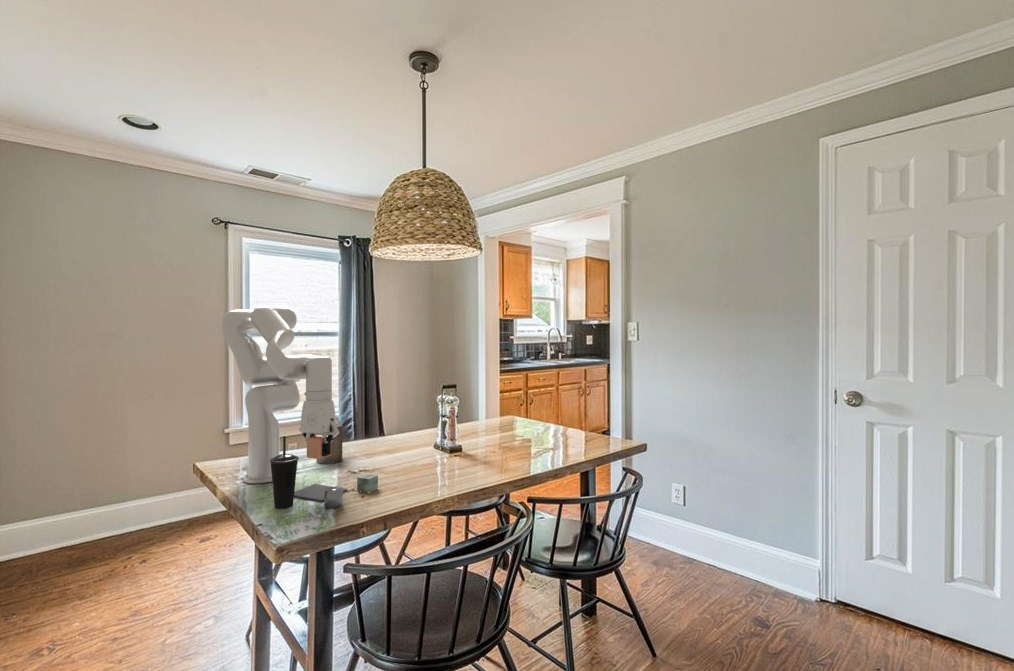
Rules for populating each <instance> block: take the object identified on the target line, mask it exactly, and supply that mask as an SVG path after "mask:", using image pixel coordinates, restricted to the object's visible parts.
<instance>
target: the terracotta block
mask: <svg viewBox="0 0 1014 671" xmlns="http://www.w3.org/2000/svg"><path fill="white" fill-rule="evenodd" d="M327 437H328V436H327ZM323 443H324V442H323V438H322V435H316V436H312V437H308V438H307V442H306V458H308V459H316V460H317V459H321V458H324V457H323V456H322V444H323ZM330 455H331V454H330ZM330 455H328V456H330ZM325 457H327V456H325Z"/></svg>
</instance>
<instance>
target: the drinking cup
mask: <svg viewBox="0 0 1014 671" xmlns="http://www.w3.org/2000/svg"><path fill="white" fill-rule="evenodd" d="M286 439H287V437H286V436H285V435H284V436H282V453H281V454H280V455H277V456H275V457H274V458H271V459H270V463H271V472H272V491H273V492H272V494H273V501H274V502H273V503H274V504H273V505H274V508H275V509H277V510H278V509H279V510H283V509H285V510H286V509H289V508H291V507H293V506H294V498H295V497H294V492H296V491H295V490H296V481H297V479H296V478H297V472H298V471H297V469H298V462H299V459H300V458H299V456H297V455H294V454H291V453H286V452H287V451H286V450H287V449H286V448H287V447H286V445H287V444H286V441H287V440H286Z"/></svg>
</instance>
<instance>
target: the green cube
mask: <svg viewBox="0 0 1014 671" xmlns="http://www.w3.org/2000/svg"><path fill="white" fill-rule="evenodd" d="M356 479H357V480H356V481H357V482H356V485H357V487H356V492H357V491H361V492H360V493H364V492H371V491H373V490H375V489H377V488H378V489H379V474H372V473H365V474H362V475H360V476H357V478H356ZM378 489H377V490H378ZM375 491H376V490H375ZM373 492H374V491H373ZM371 493H372V492H371Z"/></svg>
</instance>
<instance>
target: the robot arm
mask: <svg viewBox="0 0 1014 671" xmlns="http://www.w3.org/2000/svg"><path fill="white" fill-rule="evenodd" d="M297 322H298V320H297V314H296V312H295V311H294V310H293V309H292V308H290V307H288V306H280V305H260V306H257V307H255V308H254V309H246V308H242V309H232V310H229V311H227V312H225V313H224V314H223V317H222V319H221V332H222V336H223V338H224V340H225V342H226V344H227V346H228V347H229V348H230V350H231V351H232V355H233V356H234V360H235V363H236V366H237V368H238V372H239V374H240V376H241V380H242V381H243V382H244V384H245V385H247V386H254V387H252V388H251V389H249V390H248V391H247V392H246V394H245V397H244V404H245V408H246V409H245V410H246V414H247V420H248V422H247V423H248V424H247V425H248V430H247V431H248V438H247V439H248V441H247V442H248V448H247V449H248V450H247V451H248V452H247V453H248V457H247V458H248V459H247V460H248V462H247V463H246V464H245V465H244V466H242V467H241V470H242V471H243V472H244V471H246V474H245V475H244V476H242V481H243V482H244V483H246V484H252V485H253V484H254V485H255V484H258V485H259V484H266V483H267V482H268V483H271V482H272V472H271V463H270V459H271V458H274V457H275V456H277V455H281V454H280V450H281V449H280V446H281V445H280V444H281V443H280V438H281V437H280V436H281V434H280V432H281V431H280V430H281V429H280V423H279V421H278V420H277V417H275V415H274V413H279V412H286V411H292V410H294V409H295V408H297V407H298V406H299V404H300V401H301V397H300V396H301V395H300V391H299V388H298V385H297V383H296V380H304V379H305V391H304V396H305V400H303V404H302V409H301V416H300V428H299V429H298V431H299V432H300V433H301V435H302V436H303V437H304V438H305V439H304V440H305V442H306V443H307V438H308V437H312V436H316V434H322V438H323V442H324V443H323V444H322V456H323V457H325V456H328V455H330V454H331V442H332V441H333V439H334V438H335V436H337V435H338V434H339V430H338V429H337V427H336V423H337V420H336V419H337V418H336V409H335V403H334V400H333V381H332V380H333V379H332V378H333V375H332V374H333V364H332V361H333V360H332V359H331V357H330V356H326V355H325V356H324V355H319V356H318V355H315V354H296V355H295V354H293V355H286V354H285V353H284V352H283V351H282V350H285V349H286V348H288V347H289V346H290V345H291V344H292V343H293V342H294V339H295V333H294V331H293V329H294V328H295V327H296V325H297ZM248 334H260V335H261V336H262V338H263V339H264V341H266V343H267V345H266V349H265V356H264V355H263V353H262V350H261V347H260V345H259V344H258V343H257V342H256V341H255V339H253V338H252V337H250V336H249V335H248ZM331 432H332V433H331ZM326 435H327V436H328V437H327V436H326Z"/></svg>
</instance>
